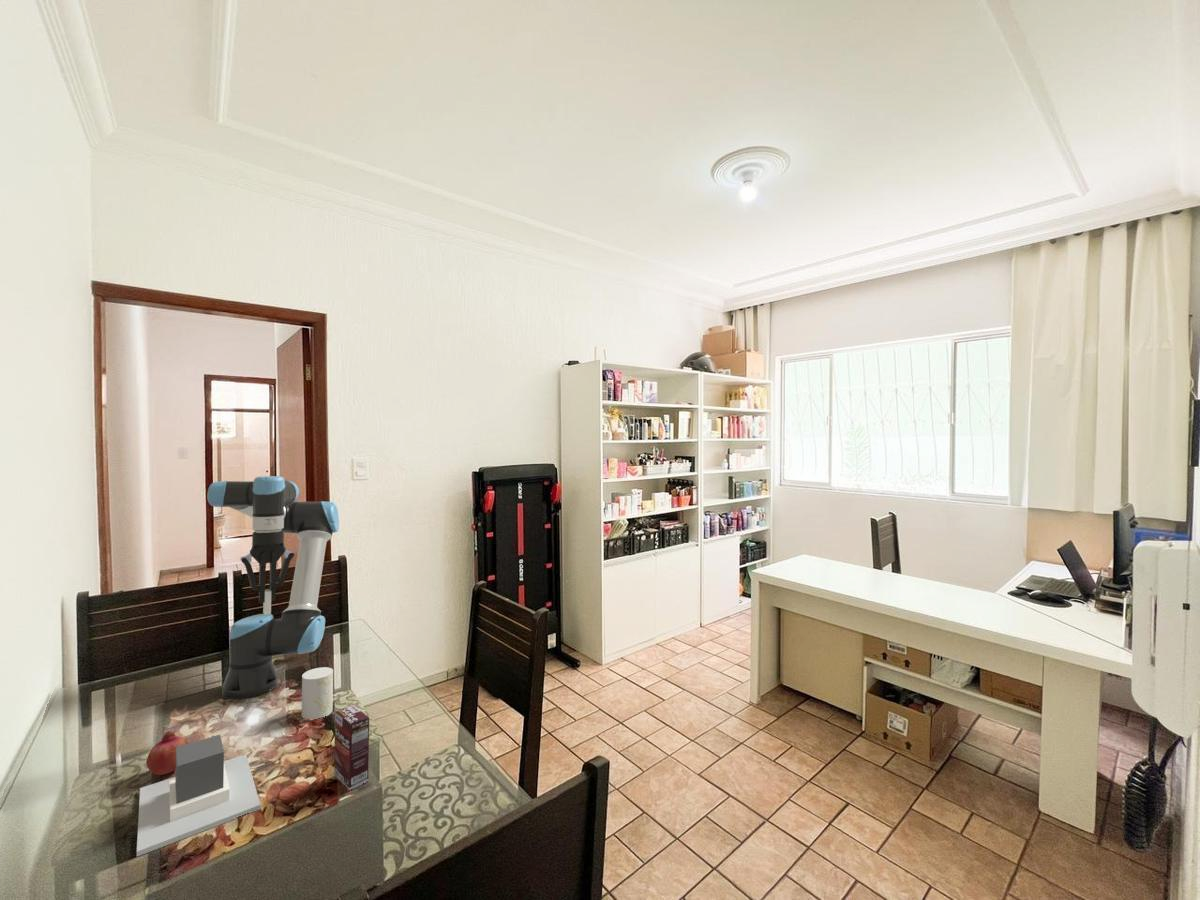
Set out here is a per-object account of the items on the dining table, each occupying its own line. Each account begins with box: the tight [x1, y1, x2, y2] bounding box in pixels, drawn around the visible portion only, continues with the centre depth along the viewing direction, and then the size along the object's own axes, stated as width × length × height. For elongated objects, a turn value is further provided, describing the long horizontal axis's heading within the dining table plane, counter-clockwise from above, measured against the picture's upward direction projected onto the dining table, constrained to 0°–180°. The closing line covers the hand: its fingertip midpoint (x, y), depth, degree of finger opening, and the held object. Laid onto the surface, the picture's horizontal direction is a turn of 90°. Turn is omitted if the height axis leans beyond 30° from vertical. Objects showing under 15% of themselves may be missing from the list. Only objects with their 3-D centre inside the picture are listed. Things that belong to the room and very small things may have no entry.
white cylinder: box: [301, 666, 334, 719], centre depth 151 cm, size 8×8×12 cm
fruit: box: [146, 730, 189, 776], centre depth 122 cm, size 8×8×10 cm
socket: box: [136, 754, 261, 857], centre depth 113 cm, size 24×20×4 cm
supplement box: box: [333, 704, 370, 791], centre depth 121 cm, size 9×5×16 cm, turn 50°
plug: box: [175, 734, 225, 804], centre depth 113 cm, size 9×8×10 cm
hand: (267, 613), depth 143 cm, fingers closed
